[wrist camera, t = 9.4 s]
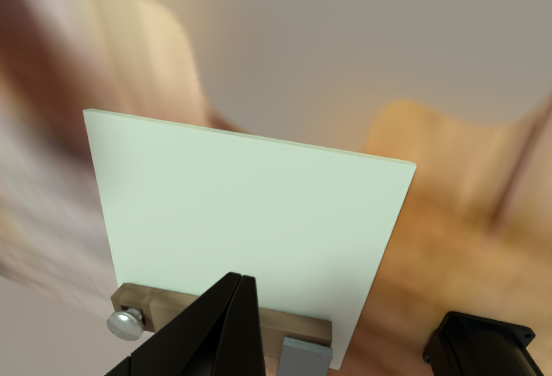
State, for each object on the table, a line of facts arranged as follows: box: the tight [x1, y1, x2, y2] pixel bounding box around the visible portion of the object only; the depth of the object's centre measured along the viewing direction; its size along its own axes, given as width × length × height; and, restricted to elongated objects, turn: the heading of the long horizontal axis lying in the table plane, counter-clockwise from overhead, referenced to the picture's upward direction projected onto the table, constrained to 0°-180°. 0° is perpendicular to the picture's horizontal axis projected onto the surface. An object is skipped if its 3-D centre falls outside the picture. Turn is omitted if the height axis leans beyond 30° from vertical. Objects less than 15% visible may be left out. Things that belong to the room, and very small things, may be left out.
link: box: [111, 283, 332, 359], centre depth 25 cm, size 20×4×2 cm, turn 87°
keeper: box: [276, 337, 333, 376], centre depth 25 cm, size 4×6×3 cm, turn 173°
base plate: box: [83, 108, 417, 370], centre depth 22 cm, size 23×22×4 cm
